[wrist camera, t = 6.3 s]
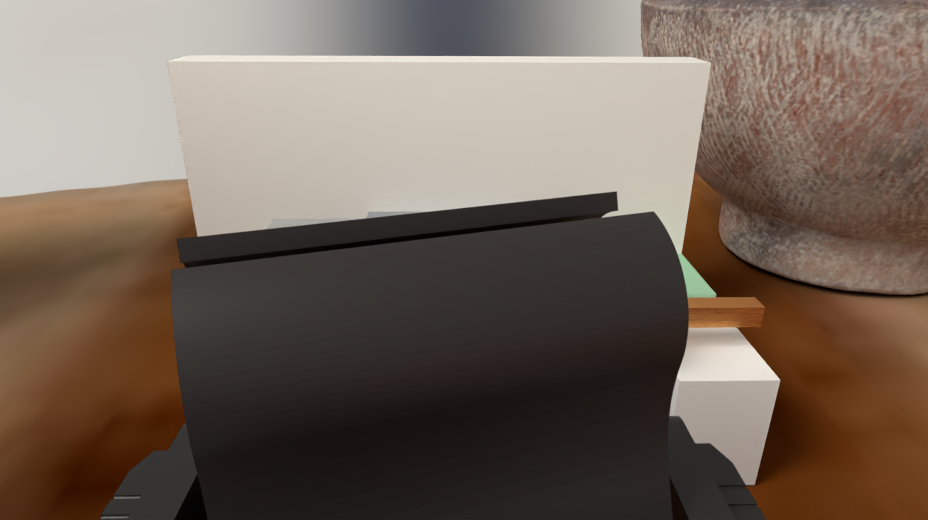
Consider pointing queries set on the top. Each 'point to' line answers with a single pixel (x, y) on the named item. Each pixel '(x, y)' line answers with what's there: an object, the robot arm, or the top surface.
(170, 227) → the top surface
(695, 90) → the panel and block assembly
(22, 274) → the top surface
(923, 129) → the ceramic pot
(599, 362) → the phone stand
